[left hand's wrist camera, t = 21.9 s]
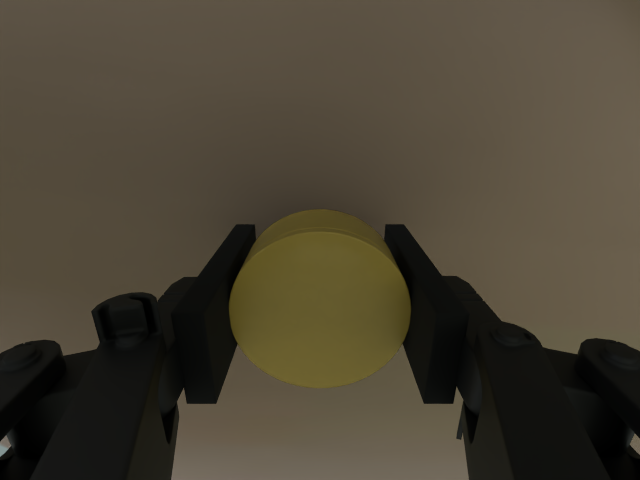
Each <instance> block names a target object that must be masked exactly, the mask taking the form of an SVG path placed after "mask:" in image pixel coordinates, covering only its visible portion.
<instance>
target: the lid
mask: <svg viewBox="0 0 640 480" xmlns="http://www.w3.org/2000/svg"><path fill="white" fill-rule="evenodd" d="M229 315H230V323H231V329H232V332H233V335H234V337H235V339H236V341H237V344H238V345H239V347H240V348H241V350H242V351H243V353H244V354H245V355H246V356H247V357H248V359H249V360H250V361H251V362H252V363H254V364H255V365H256V366H257V367H258V368H260V369H261V370H262V371H264V372H265V373H267V374H269V375H270V376H272V377H274V378H276V379H278V380H281V381H283V382H286V383H289V384H293V385H296V386H302V387H308V388H331V387H339V386H343V385H348V384H351V383H354V382H357V381H359V380H362V379H364V378H366V377H368V376H370V375H371V374H373V373H375V372H376V371H378V370H379V369H380V368H382V367H383V366H384V365H385V364H386V363H387V362H388V361H389V360H390V359H391V358H392V357H393V356H394V355H395V354H396V352H397V351H398V350H399V348H400V347H401V345H402V343H403V341H404V339H405V337H406V334H407V332H408V329H409V324H410V316H411V299H410V295H409V290H408V287H407V285H406V282H405V280H404V278H403V276H402V274H401V272H400V270H399V268H398V266H397V264H396V262H395V260H394V258H393V256H392V254H391V252H390V250H389V248H388V246H387V245H386V243H385V241H384V240H383V239H382V238H381V236H380V235H379V234H378V233H377V232H376V231H375V230H374V229H373V228H372V227H370V226H369V225H368V224H366V223H365V222H364V221H362V220H360V219H358V218H356V217H354V216H351V215H349V214H346V213H343V212H339V211H334V210H325V209H315V210H306V211H301V212H297V213H294V214H291V215H288V216H286V217H284V218H282V219H280V220H278V221H277V222H275V223H273V224H272V225H271V226H270V227H268V228H267V229H266V230H265V231H264V232H263V233H262V234H261V235H260V236H259V237H258V239H257V240H256V241H255V243H254V244H253V246H252V248H251V250H250V252H249V254H248V256H247V258H246V260H245V262H244V264H243V266H242V268H241V270H240V272H239V274H238V276H237V278H236V280H235V282H234V284H233V287H232V290H231V293H230V299H229Z"/></svg>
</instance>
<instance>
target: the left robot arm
mask: <svg viewBox="0 0 640 480" xmlns="http://www.w3.org/2000/svg"><path fill="white" fill-rule="evenodd" d="M255 241H256V235H255V224H236V226H235V227H234V228H233V230H232V231H231V232H230V234H229V235H228V236H227V238H226V239H225V240H224V242H223V243H222V245H221V246H220V247H219V249H218V250H217V251H216V253H215V254H214V255H213V257H212V258H211V259H210V261H209V262H208V263H207V265H206V266H205V268H204V269H203V270H202V272H201V273H200V274H199V276H198V277H183V278H182V279H180V280H178V281H177V282H175V283H173V284H172V285H171V286H170V287H169V288H168V289H167V290H166V292H165V293H164V295H162V296H161V297H160V299H159V300H158V302H157V299H156V297H155V296H153V295H152V294H149V293H143V292H138V293H128V294H123V295H119V296H116V297H113V298H110V299H107V300H106V301H104V302H102V303H100V304H99V305H97V306H96V307H95V308H94V309H93V310H92V311H91V312H92V316H93V319H94V323H95V327H96V330H97V334H98V337H99V341H100V344H99V346H98V347H97V349H95V350H91V351H86V352H81V353H76V354H71V355H66V356H63V354H62V351H61V348H60V345H59V344H58V343H56V342H55V341H50V340H39V341H30V342H26V343H25V344H23V343H22V344H19V345H16V346H14V347H13V348H11V349H9V350H6V351H4V352H2V353H0V441H1V440H2V439H3V438H4V437H5V436H6V435H7V437H8V440H9V442H10V444H11V447H10V448H9V449H8V450H7V451H6V453H4V454H3V455H2V456H1V457H0V480H171V476H172V468H173V461H174V453H175V445H176V437H177V430H178V422H179V411H178V405H177V400H178V398H179V396H180V394H181V392H182V390H183V388H184V390H185V395H186V401H187V404H216V403H217V400H218V397H219V395H220V392H221V389H222V386H223V383H224V380H225V378H226V375H227V372H228V369H229V366H230V364H231V361H232V358H233V355H234V352H235V349H236V347H237V341H236V339H235V337H234V335H233V332H232V329H231V323H230V315H229V299H230V293H231V290H232V287H233V284H234V282H235V280H236V278H237V276H238V274H239V272H240V270H241V268H242V266H243V264H244V262H245V260H246V258H247V256H248V254H249V252H250V250H251V248H252V246H253V244H254V243H255ZM384 241H385V243H386V245H387V246H388V248H389V250H390V252H391V254H392V256H393V258H394V260H395V262H396V264H397V266H398V268H399V270H400V272H401V274H402V276H403V278H404V280H405V282H406V285H407V287H408V290H409V295H410V299H411V316H410V324H409V329H408V332H407V334H406V337H405V339H404V341H403V346H404V349H405V352H406V354H407V357H408V360H409V363H410V366H411V369H412V371H413V374H414V377H415V380H416V383H417V385H418V388H419V391H420V394H421V397H422V400H423V402H424V404H453V402H454V397H455V391H456V386H457V388H458V390H459V392H460V394H461V396H462V398H463V405H462V411H461V416H460V421H459V426H458V431H457V438H456V439H460V440H461V438H462V433H463V437H464V444H465V452H466V460H467V467H468V475H469V480H640V455H639V454H638V453H637V452H636V451H635V450H634V449H633V448H632V447H631V446H630V442H631V440H632V438H633V436H634V434H636V435H637V436H638V437H639V438H640V351H638V350H636V349H634V348H631V347H629V346H628V345H626V344H623V343H620V342H616V341H613V340H606V339H598V338H594V339H586V340H585V341H584V342H582V343H581V345H580V348H579V351H578V354H572V353H567V352H562V351H557V350H552V349H547V348H543V347H542V345H541V343H540V341H539V340H538V339H537V338H536V337H535V335H533V334H532V333H530V332H529V331H527V330H526V329H524V328H522V327H519V326H517V325H515V324H511V323H507V322H502V321H501V320H500V319H499V318H498V316H497V315H496V314H495V313H494V312H493V311H492V310H491V308H490V307H489V306H488V305H487V304H486V303H485V301H483V299H482V298H481V297H480V296H479V295H478V294H476V291H475V290H474V289H473V288H472V286H471V285H470V284H469V283H467V282H466V281H464V280H462V279H461V278H459V277H457V276H442V275H441V274H440V273H439V271H438V270H437V269H436V267H435V266H434V264H433V263H432V262H431V260H430V259H429V258H428V256H427V255H426V254H425V252H424V251H423V250H422V248H421V247H420V246H419V244H418V243H417V242H416V240H415V239H414V237H413V236H412V235H411V233H410V232H409V231H408V229H407V228H406V227H405V225H404V224H386V225H385V238H384Z"/></svg>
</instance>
